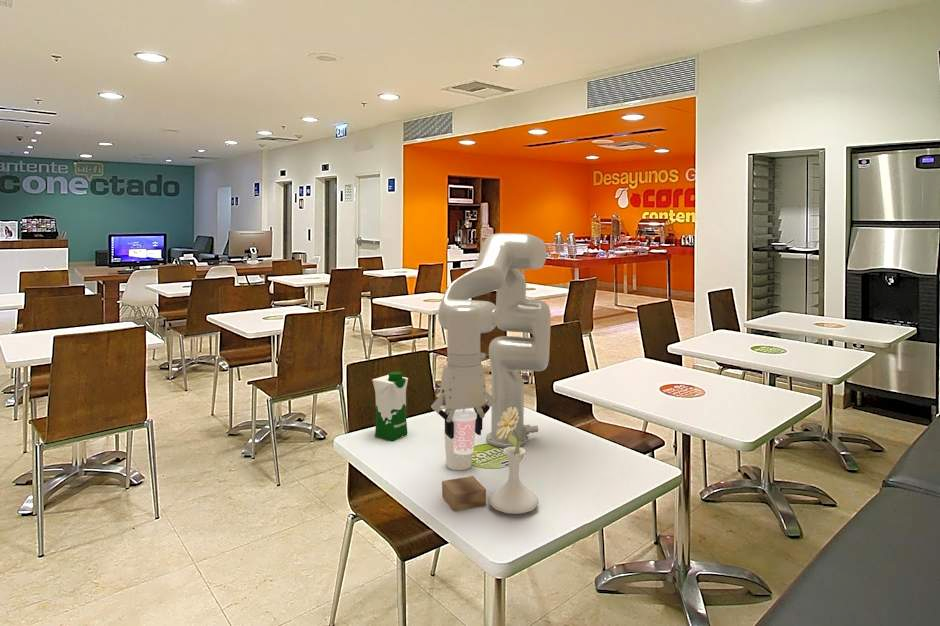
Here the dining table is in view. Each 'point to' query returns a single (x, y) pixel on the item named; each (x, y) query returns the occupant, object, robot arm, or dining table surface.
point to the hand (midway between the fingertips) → (463, 434)
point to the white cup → (456, 457)
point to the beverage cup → (464, 431)
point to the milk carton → (391, 406)
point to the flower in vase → (512, 472)
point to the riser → (463, 493)
